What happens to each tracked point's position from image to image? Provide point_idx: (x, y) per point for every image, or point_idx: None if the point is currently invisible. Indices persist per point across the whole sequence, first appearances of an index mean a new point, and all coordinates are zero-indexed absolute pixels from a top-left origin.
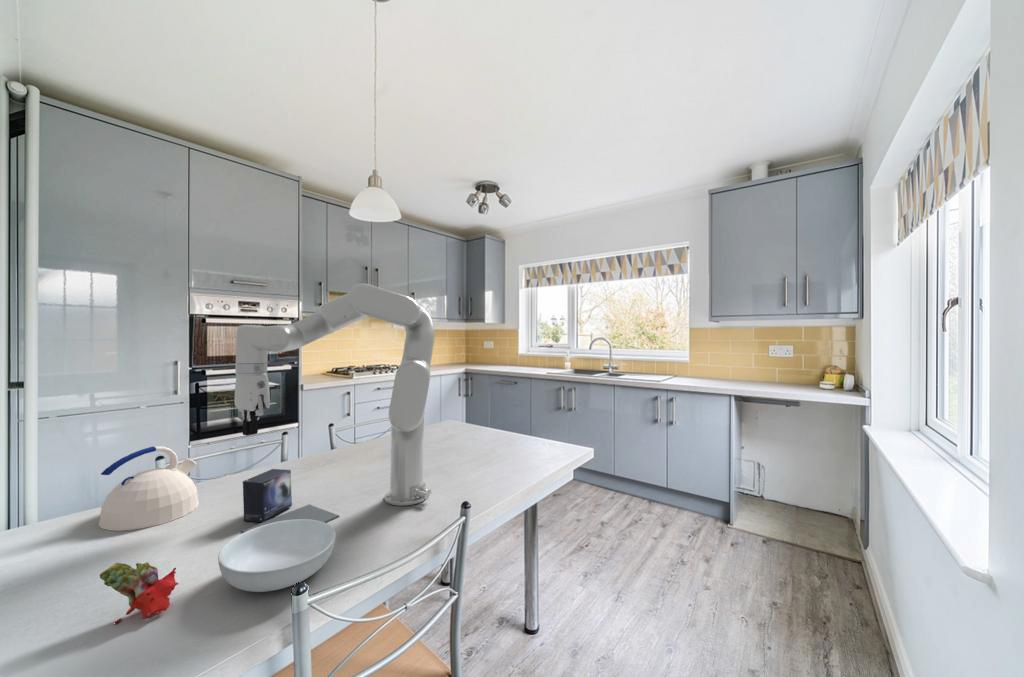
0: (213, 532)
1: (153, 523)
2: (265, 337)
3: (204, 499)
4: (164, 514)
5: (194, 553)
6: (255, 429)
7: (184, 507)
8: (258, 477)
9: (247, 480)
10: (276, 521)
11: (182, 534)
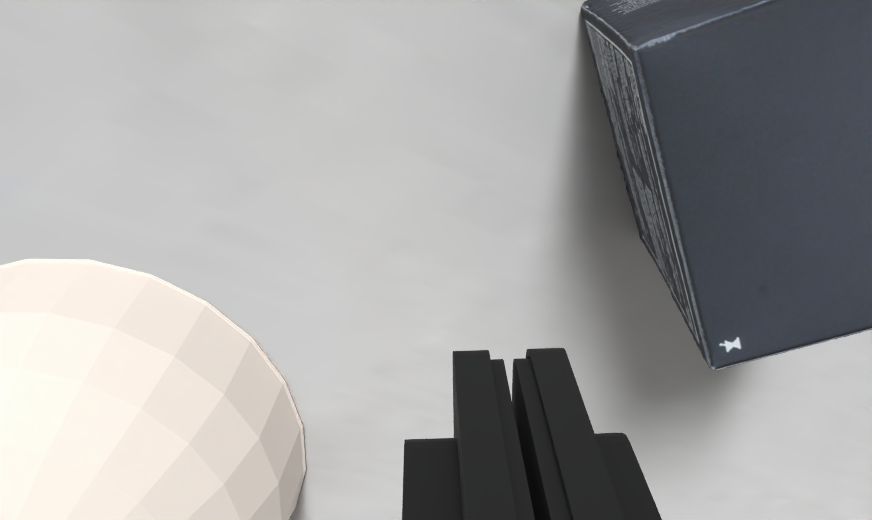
0: (623, 370)
1: (296, 493)
2: None
3: (86, 223)
4: (292, 480)
5: (748, 480)
6: (628, 455)
7: (266, 399)
8: (766, 270)
9: (737, 346)
10: None
11: None
